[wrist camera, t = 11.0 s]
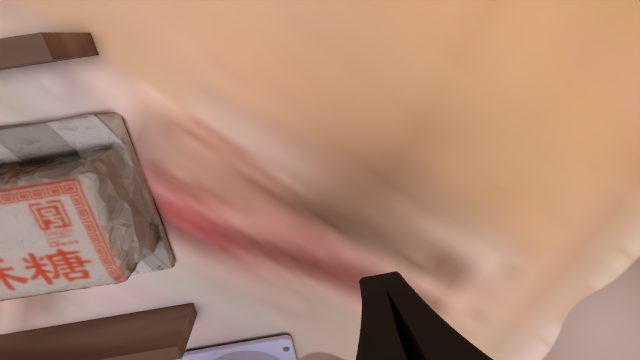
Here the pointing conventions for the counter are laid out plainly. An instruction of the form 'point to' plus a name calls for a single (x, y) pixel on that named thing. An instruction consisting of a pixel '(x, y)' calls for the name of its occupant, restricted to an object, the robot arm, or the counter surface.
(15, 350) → the box
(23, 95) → the counter surface
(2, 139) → the packaged product
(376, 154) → the counter surface
